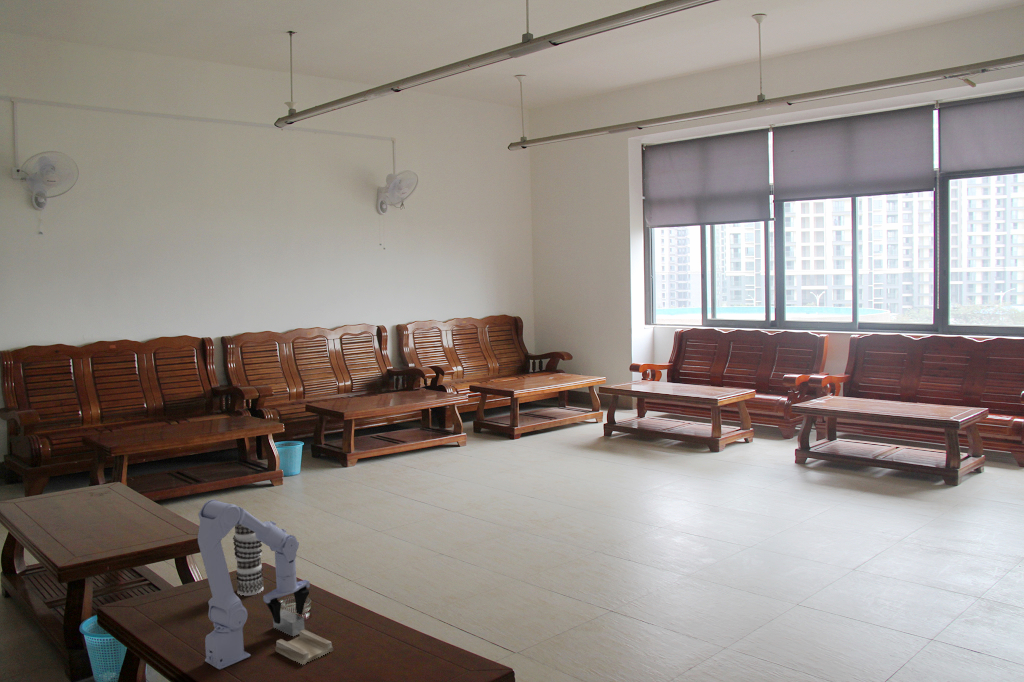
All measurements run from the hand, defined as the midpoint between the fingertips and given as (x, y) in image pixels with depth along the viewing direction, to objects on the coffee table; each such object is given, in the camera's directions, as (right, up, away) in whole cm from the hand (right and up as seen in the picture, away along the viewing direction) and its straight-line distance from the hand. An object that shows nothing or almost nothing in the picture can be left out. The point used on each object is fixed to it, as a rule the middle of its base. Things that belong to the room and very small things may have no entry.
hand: (288, 618), depth 232 cm
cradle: (+8, -5, -13) cm, 16 cm away
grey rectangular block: (0, -4, 0) cm, 4 cm away
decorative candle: (-21, -2, +30) cm, 37 cm away
